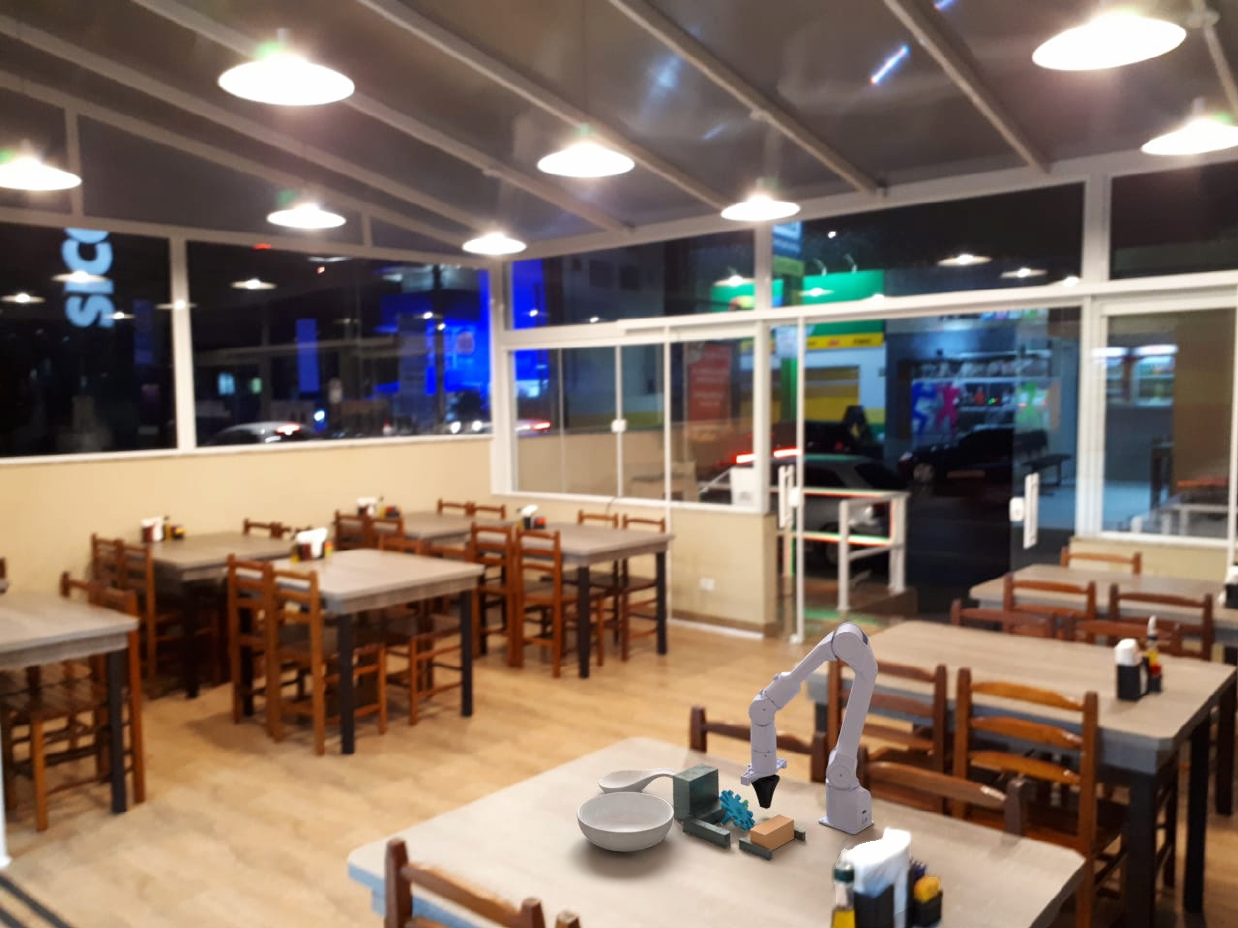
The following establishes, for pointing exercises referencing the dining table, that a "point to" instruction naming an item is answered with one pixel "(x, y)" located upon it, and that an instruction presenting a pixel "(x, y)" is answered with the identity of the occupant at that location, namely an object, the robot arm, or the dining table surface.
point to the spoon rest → (632, 779)
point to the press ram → (773, 832)
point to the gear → (736, 810)
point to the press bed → (709, 810)
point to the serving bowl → (625, 820)
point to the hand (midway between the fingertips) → (765, 806)
